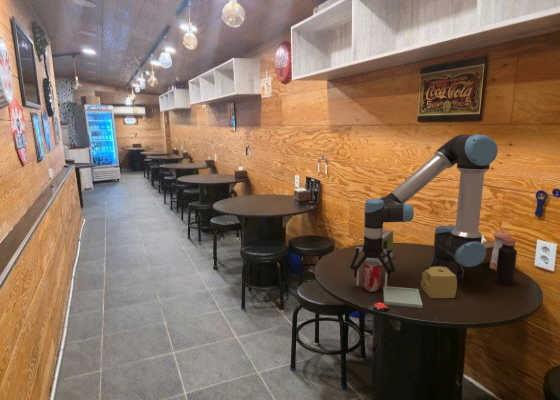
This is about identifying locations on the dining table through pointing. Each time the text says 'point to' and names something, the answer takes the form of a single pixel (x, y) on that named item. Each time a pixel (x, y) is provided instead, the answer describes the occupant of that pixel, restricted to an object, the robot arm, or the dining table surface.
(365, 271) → the soda can
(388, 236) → the tea box
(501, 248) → the bottle
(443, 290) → the cheese
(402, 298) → the tray
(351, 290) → the dining table surface
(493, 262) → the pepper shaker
